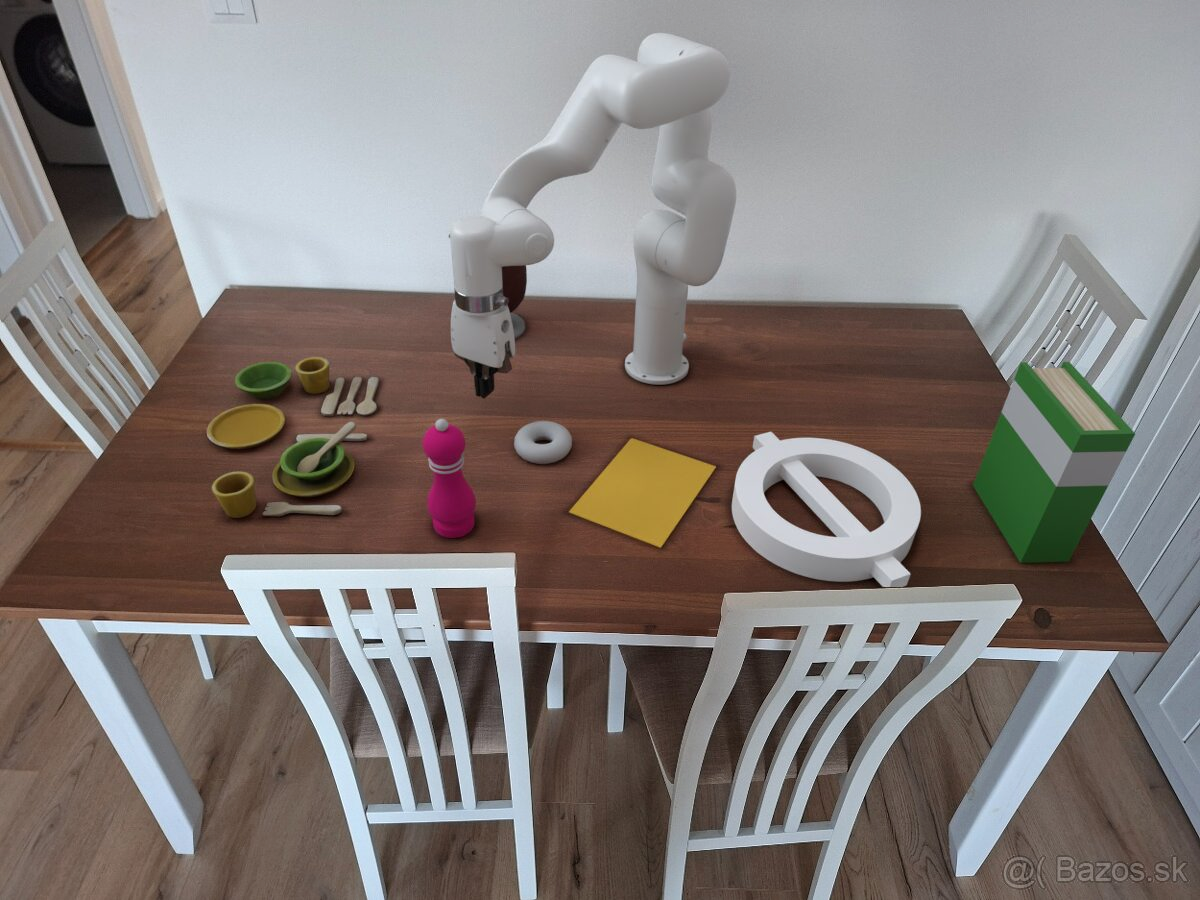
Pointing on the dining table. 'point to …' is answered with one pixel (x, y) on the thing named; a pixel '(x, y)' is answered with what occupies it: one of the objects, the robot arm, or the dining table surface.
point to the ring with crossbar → (826, 510)
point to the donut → (543, 452)
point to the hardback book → (1050, 461)
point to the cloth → (644, 492)
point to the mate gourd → (514, 293)
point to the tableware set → (304, 464)
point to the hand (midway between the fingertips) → (485, 393)
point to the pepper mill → (448, 481)
